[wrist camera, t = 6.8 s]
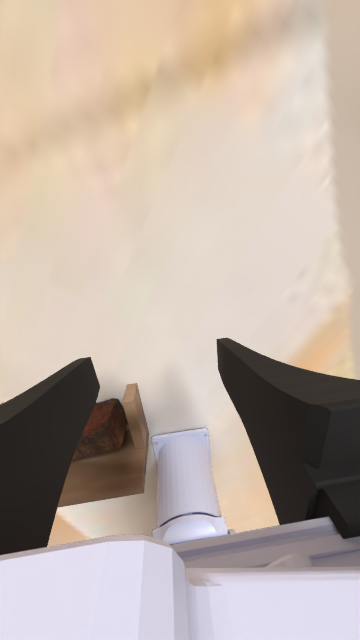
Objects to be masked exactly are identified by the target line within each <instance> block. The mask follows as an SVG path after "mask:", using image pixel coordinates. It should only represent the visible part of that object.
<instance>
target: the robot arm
mask: <svg viewBox="0 0 360 640" xmlns="http://www.w3.org/2000/svg"><path fill="white" fill-rule="evenodd" d="M217 355H218V370H219V373H220V376H221V379H222V382H223V384H224V386H225V388H226V390H227V392H228V394H229V396H230V398H231V400H232V402H233V404H234V406H235V408H236V410H237V412H238V414H239V416H240V418H241V420H242V422H243V424H244V427H245V429H246V432H247V434H248V437H249V439H250V442H251V445H252V447H253V450H254V453H255V455H256V458H257V461H258V463H259V466H260V469H261V471H262V474H263V477H264V480H265V483H266V486H267V488H268V491H269V494H270V497H271V500H272V503H273V506H274V509H275V512H276V515H277V518H278V521H279V524H280V525H278V526H273V527H267V528H262V529H256V530H251V531H245V532H240V533H236V532H235V530H234V529H229V530H228V531H227V527H226V522H225V518H224V517H222V515H221V511H220V506H219V502H218V497H217V493H216V488H215V483H214V479H213V474H212V470H211V458H210V447H209V435H208V429H207V428H201V429H195V430H188V431H182V432H176V433H170V434H163V435H157V436H153V437H152V444H153V449H154V453H155V457H156V461H157V466H158V479H157V516H156V529H153V530H152V537H149V536H146V535H115V536H107V537H101V538H95V539H90V540H84V541H78V542H73V543H68V544H61V545H56V546H50V547H47V545H48V540H49V536H50V533H51V529H52V525H53V522H54V518H55V514H56V510H57V507H58V503H59V500H60V496H61V493H62V490H63V486H64V483H65V480H66V476H67V473H68V470H69V467H70V464H71V461H72V458H73V455H74V452H75V450H76V447H77V445H78V442H79V440H80V438H81V436H82V433H83V431H84V429H85V427H86V424H87V422H88V420H89V418H90V415H91V413H92V411H93V408H94V406H95V403H96V400H97V397H98V393H99V389H100V385H99V382H98V379H97V376H96V373H95V370H94V366H93V363H92V360H91V357H87V358H80V359H78V360H76V361H74V362H72V363H70V364H69V365H67V366H65V367H64V368H62V369H61V370H59V371H57V372H56V373H54V374H53V375H51V376H50V377H48V378H46V379H45V380H43V381H42V382H40V383H38V384H37V385H35V386H33V387H32V388H30V389H28V390H27V391H25V392H23V393H22V394H20V395H18V396H16V397H14V398H13V399H11V400H9V401H7V402H5V403H3V404H1V405H0V640H360V380H355V379H348V378H342V377H337V376H331V375H326V374H322V373H317V372H313V371H309V370H305V369H301V368H298V367H294V366H291V365H288V364H285V363H282V362H279V361H276V360H274V359H271V358H269V357H266V356H264V355H262V354H259V353H257V352H255V351H253V350H251V349H249V348H247V347H245V346H243V345H241V344H239V343H237V342H235V341H233V340H231V339H229V338H222V339H217Z"/></svg>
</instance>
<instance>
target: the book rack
mask: <svg viewBox="0 0 360 640" xmlns="http://www.w3.org/2000/svg"><path fill="white" fill-rule="evenodd" d="M1 404H3V403H1ZM1 404H0V405H1ZM122 404H123V407H124V411H125V414H126V418H127V421H128V425H129V428H130V430H125V435H124V440H123V443H122V444H121V446H120V447H119V448H118V449H117V450H114V451H111V452H108V453H105V454H101V455H97V456H92V457H89V458H85V459H81V460H78V461H76V462H71V464H70V467H69V470H68V473H67V476H66V480H65V483H64V486H63V490H62V493H61V496H60V500H59V503H58V507H63V506H69V505H75V504H81V503H87V502H93V501H99V500H105V499H111V498H116V497H122V496H128V495H134V494H140V493H144V485H145V473H146V460H147V448H148V436H149V432H148V428H147V424H146V420H145V415H144V411H143V407H142V403H141V399H140V394H139V390H138V386H137V383H135V384H128V385H127V387H126V391H125V395H124V398H123V402H122Z"/></svg>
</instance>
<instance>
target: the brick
mask: <svg viewBox="0 0 360 640" xmlns="http://www.w3.org/2000/svg"><path fill="white" fill-rule="evenodd" d="M126 424H127V418H126V414H125V411H124V409H123V407H122V405H121V403H120V402H119V400H118V399H114V398H113V399H110V400H106V401H104V402H100V403H95V406H94V408H93V411H92V413H91V415H90V418H89V420H88V422H87V424H86V427H85V429H84V431H83V433H82V436H81V438H80V440H79V442H78V445H77V447H76V450H75V452H74V455H73V458H72V461H71V462H76V461H78V460H81V459H85V458H89V457H92V456H97V455H101V454H105V453H108V452H111V451H114V450H117V449H118V448H119V447H120V446H121V444H122V443H123V440H124V435H125V429H126Z"/></svg>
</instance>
